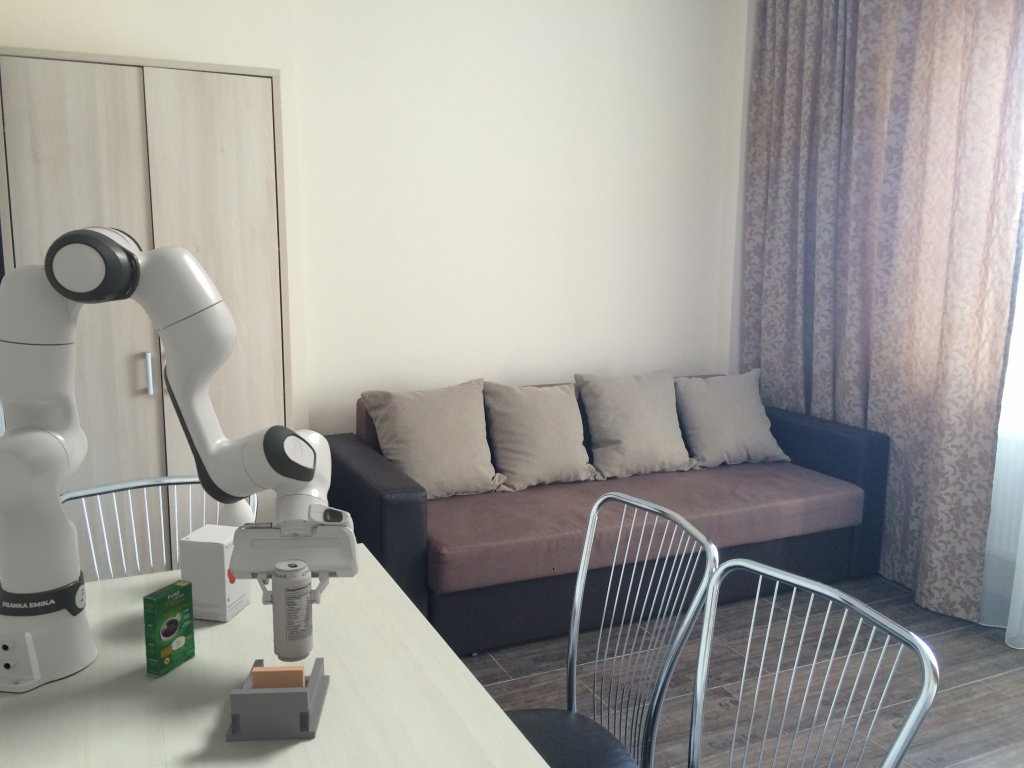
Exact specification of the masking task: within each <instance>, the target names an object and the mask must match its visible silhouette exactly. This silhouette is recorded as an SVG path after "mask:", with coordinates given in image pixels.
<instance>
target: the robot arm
mask: <svg viewBox="0 0 1024 768" xmlns="http://www.w3.org/2000/svg"><path fill="white" fill-rule="evenodd" d="M128 299H131V300H133V301H135V302H136V303H137V304H139V306H141V307H142V309H143V310H144V312H145V313H146V315H147V316H148V318H149V320H150V322H151V324H152V325H153V327H154V329H155V330H156V333H157V334H158V337H159V338H160V340H161V343H162V346H163V350H164V353H165V355H164V356H165V360H166V363H165V366H164V368H163V379H164V384H165V387H166V390H167V392H168V396H169V399H170V401H171V404H172V406H173V409H174V411H175V414H176V416H177V419H178V421H179V423H180V426H181V428H182V431H183V433H184V436H185V438H186V441H187V443H188V446H189V448H190V451H191V453H192V456H193V459H194V463H195V469H196V473H197V478H198V481H199V483H200V486H201V488H202V489H203V491H204V492H205V493H206V494H207V495H208V496H209V497H210V498H212V499H213V500H215V501H217V502H219V503H220V504H223V505H224V504H233V503H236V502H238V501H240V500H243V499H245V500H246V499H247V498H249V497H251V496H253V495H255V494H258V493H262V492H264V491H269V490H272V491H274V492H275V493H276V498H275V500H274V505H273V513H272V514H273V515H272V522H257V523H245V524H244V525H243V526H240V527H239V528H238V529H236V531H235V533H234V538H233V545H234V548H233V552H232V555H231V559H230V564H229V568H230V571H231V573H232V575H233V576H234V577H235V578H236V579H250V580H257V583H258V584H259V587H260V589H261V591H262V597H261V603H262V605H263V606H269V605H272V606H273V604H272V590H268V588H267V587H266V586H267V585H269V583H270V580H272V574H273V572H274V570H275V565H276V564H277V563H278V562H280V561H283V560H289V559H300V560H304V561H306V562H307V567H308V568H309V570H310V572H311V579H318V580H319V583H318V585H317V586H316V588H315V589H312V590H311V594H310V595H311V596H310V598H309V601H310V602H311V604H312V605H313V604H315V605H316V604H319V605H320V604H321V598H322V595H321V594H323V593H324V591H325V590H326V588H327V587H328V586H329V584H330V579H331V578H334V579H335V578H336V579H337V578H354V577H355V576H357V574H358V573H359V570H360V560H359V557H360V556H359V548H358V542H357V538H356V536H355V532H354V522H353V519H352V517H351V513H349V512H348V511H344V510H342V509H338V508H334V507H330V506H329V501H328V492H329V490H330V486H331V481H332V480H331V477H332V456H331V455H332V454H331V449H330V444H329V442H328V439H327V438H326V437H325V436H323V435H322V434H321V433H319V432H316V431H314V430H312V429H297V430H293V429H290V428H289V427H287V426H284V425H280V424H279V425H278V424H276V425H272V426H269V427H265V428H263V429H259V430H257V431H254V432H251V433H250V434H246V435H245V436H242V437H239V438H236V439H233V440H231V439H229V438H227V437H226V436H225V434H224V432H223V429H222V426H221V424H220V422H219V419H218V417H217V416H218V415H217V414H216V412H215V409H214V407H213V404H212V401H211V399H210V394H209V393H210V392H209V390H210V384H211V382H212V379H213V377H214V375H216V373H217V372H218V371H219V370H220V369H221V367H222V366H223V365H224V364H225V363H226V362H227V360H228V359H229V358H230V356H231V355H232V353H233V350H234V349H235V346H236V342H237V337H238V336H237V335H238V330H237V326H236V322H235V319H234V317H233V315H232V313H231V311H230V310H229V307H228V306H227V304H226V302H225V300H223V297H222V295H221V293H220V292H219V290H218V287H217V286H216V284H215V283H214V282H213V280H212V279H211V277H210V276H209V275H208V272H207V271H206V270H205V269H204V268H203V266H202V265H201V264H200V262H199V261H198V259H197V258H196V257H195V256H194V255H193V254H192V253H191V252H190V251H189V250H188V249H186V248H184V247H181V246H177V245H166V246H159V247H156V248H154V249H151V250H148V251H147V250H146V251H143V249H142V247H141V245H140V244H139V242H138V241H137V240H136V239H135V238H134V237H133V236H132V235H130V234H129V233H128V232H126V231H124V230H122V229H118V228H113V227H106V226H94V225H93V226H86V227H83V228H82V227H81V228H80V229H74V230H70V231H68V232H65V233H63V234H62V235H60V236H58V237H57V238H56V239H55V240H54V241H52V243H51V244H50V246H49V247H48V248H47V251H46V253H45V256H44V264H42V265H41V264H25V265H21V266H17V267H14V268H13V269H10V270H9V271H8V272H6V274H5V275H3V277H2V279H1V282H0V404H1V408H2V412H3V415H4V421H5V429H4V433H3V435H1V436H0V692H7V693H8V692H10V693H24V692H25V693H26V692H28V691H30V690H33V689H35V688H38V687H40V686H41V685H44V684H46V683H49V682H52V681H57V680H60V679H62V678H66V677H68V676H70V675H74V674H76V673H77V672H79V671H82V670H83V669H85V668H87V667H88V666H89V665H90V664H92V663H93V662H94V661H95V660H96V658H97V657H98V655H99V648H98V646H97V644H96V641H95V639H94V637H93V634H92V632H91V628H90V623H89V621H88V617H87V616H88V615H87V611H86V605H87V603H86V601H87V591H86V586H85V584H86V583H85V578H84V576H85V575H84V572H83V571H82V570H81V568H80V567H81V565H80V555H79V554H80V552H79V543H78V541H79V540H78V530H77V526H76V525H75V524H74V522H73V521H72V520H69V518H68V516H67V514H66V512H65V508H64V506H63V503H62V500H61V494H60V493H61V487H62V484H63V483H65V482H66V481H68V480H69V479H70V478H72V477H73V476H75V474H77V472H78V471H79V469H80V468H81V466H82V464H83V462H84V461H85V459H86V456H87V453H88V449H89V444H88V437H87V435H86V433H85V431H84V430H83V428H81V423H80V417H79V412H78V405H77V401H76V392H75V390H76V389H75V386H76V385H75V381H76V380H75V376H76V357H77V356H76V355H77V329H78V328H77V327H78V318H79V313H80V311H81V309H82V308H83V306H84V304H86V305H88V304H89V305H91V304H92V305H93V304H94V305H95V304H102V303H108V302H109V303H110V302H116V301H125V300H128ZM242 528H244V529H242Z"/></svg>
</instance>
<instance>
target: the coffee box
mask: <svg viewBox="0 0 1024 768" xmlns="http://www.w3.org/2000/svg"><path fill="white" fill-rule="evenodd" d="M142 603H143V606H142V607H143V620H144V622H143V623H144V641H145V657H146V659H145V660H146V674H147V675H148V676H151V677H154V678H161V676H163V675H164V674H165V675H166V674H167V673H169V672H171V670H173V669H175V668H177V667H179V666H180V665H182V664H183V663H185V662H188V661H189V660H190V659H192V658H194V657H195V656H196V646H195V644H196V642H195V625H194V623H195V622H194V618H193V599H192V583H191V582H187V581H183V580H180V579H178V580H177V581H175V582H173V583H170V584H168V585H165V586H163V587H161V588H159V589H158V590H155V591H153V592H151V593H149V594H146V595H144V596H142Z"/></svg>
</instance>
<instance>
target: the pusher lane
mask: <svg viewBox="0 0 1024 768" xmlns="http://www.w3.org/2000/svg"><path fill="white" fill-rule="evenodd" d="M264 663H265V661H264V659H263V658H262V659H261V658H260V659H255V660H254V662H253V665H252V666H251V669H250V671H249V673H248V675H247V678H246V680H245V683H244V685H243V686H242V688H240V689H239V688H235V689H234V688H233V689H231V691H230V692H229V701H230V717H231V719H230V721H231V722H230V724H229V727H228V729H227V732H226V733H225V740H226V742H231V741H233V742H235V741H237V742H238V741H260V740H262V741H263V740H264V741H265V740H267V741H268V740H288V739H289V740H294V739H297V740H298V739H315V738H316V737H317V736H316V735H317V731H318V727H319V723H320V720H321V717H322V712H323V710H324V709H323V708H324V704H325V701H326V698H327V694H328V689H329V685H330V682H331V681H330V680H331V679H330V674H328V675H326V674H325V658H324V657H316V658H315V659H314V663H313V667H312V670H311V673H310V675H305V687H295V688H261V689H253V686H252V670H253V668H254V667H265V666H264Z"/></svg>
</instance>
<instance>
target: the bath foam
mask: <svg viewBox="0 0 1024 768" xmlns="http://www.w3.org/2000/svg"><path fill="white" fill-rule="evenodd" d="M255 520H256V519H255V514H254V512H253V509H252V507H251V506H250V504H249V503H248V502H247V500H246V498H245V499H243V500H240V501H238V502H236V503H233V504H224V503H223V505H222V508H221V509H220V511H219V514H218V519H217V521H218V523H217V525H221V526H232V527H240V526H243V525H244V524H245V523H255V522H256V521H255Z"/></svg>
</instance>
